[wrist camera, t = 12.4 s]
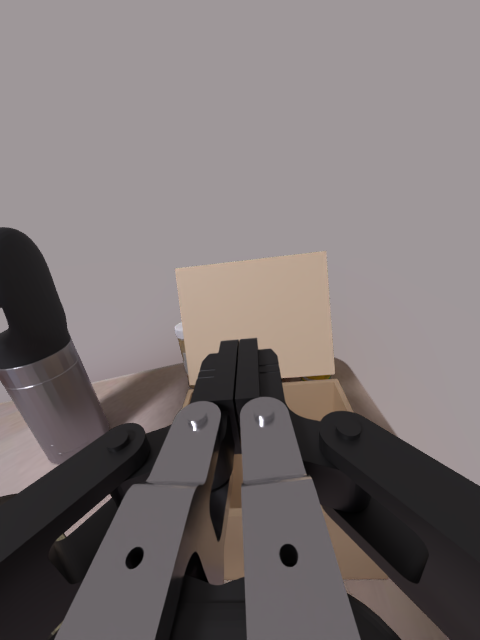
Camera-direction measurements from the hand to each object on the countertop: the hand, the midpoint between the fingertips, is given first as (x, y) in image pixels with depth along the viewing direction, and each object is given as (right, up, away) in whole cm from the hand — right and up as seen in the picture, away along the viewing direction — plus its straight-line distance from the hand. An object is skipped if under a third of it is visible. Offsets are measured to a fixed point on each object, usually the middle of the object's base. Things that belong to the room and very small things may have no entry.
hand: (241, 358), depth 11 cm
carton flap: (+2, +1, +23) cm, 23 cm away
